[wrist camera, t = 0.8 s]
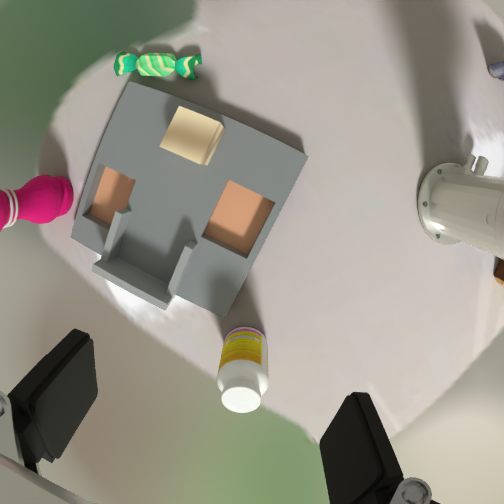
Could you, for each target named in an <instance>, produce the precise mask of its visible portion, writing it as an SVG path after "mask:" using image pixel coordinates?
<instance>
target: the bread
mask: <svg viewBox="0 0 504 504" xmlns="http://www.w3.org/2000/svg"><path fill="white" fill-rule="evenodd" d="M494 277H495V279H496V281H497V282H498V283H500V284H501V285H502V286H504V260H503V259H500V262H499V264H498V267H497V269H496V272H495V274H494Z"/></svg>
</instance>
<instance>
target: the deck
mask: <svg viewBox="0 0 504 504" xmlns="http://www.w3.org/2000/svg"><path fill="white" fill-rule="evenodd" d="M179 106H181V107H184V108H186V109H189V110H191V111H194V112H197V113H199V114H201V115H204V116H206V117H209V118H211V119H214V120H216V121H218V122H220V123H221V124H222V125H223V127H224V128H225V131H224V133H223V135H222V137H221V139H220V141H219V143H218V145H217V147H216V149H215V151H214V153H213V155H212V157H211V159H210V161H209V164H208V165H202V164H198V163H196V162H193V161H191V160H189V159H187V158H184V157H182V156H180V155H178V154H175V153H173V152H171V151H168V150H166V149H164V148H161V147H159V146H160V144H161V142H162V140H163V138H164V136H165V133H166V131H167V129H168V127H169V125H170V123H171V121H172V119H173V117H174V115H175V113H176V111H177V109H178V107H179ZM308 157H309V156H307V155H306V154H304V153H302V152H300V151H298V150H296V149H294V148H292V147H290V146H288V145H286V144H284V143H282V142H280V141H278V140H276V139H274V138H272V137H270V136H268V135H266V134H264V133H262V132H260V131H257V130H255V129H253V128H251V127H249V126H247V125H244V124H242V123H240V122H238V121H235V120H233V119H231V118H228V117H226V116H224V115H221V114H219V113H217V112H214V111H212V110H209V109H207V108H204V107H202V106H199V105H197V104H194V103H192V102H189V101H186V100H184V99H181V98H178V97H176V96H173V95H170V94H167V93H164V92H161V91H159V90H156V89H153V88H150V87H147V86H143V85H140V84H137V83H134V82H131V81H129V82H128V84H127V86H126V88H125V90H124V92H123V94H122V96H121V98H120V100H119V102H118V105H117V107H116V109H115V111H114V113H113V115H112V118H111V120H110V122H109V124H108V127H107V129H106V131H105V134H104V136H103V139H102V141H101V143H100V146H99V149H98V151H97V154H96V156H95V159H94V162H93V165H92V167H91V170H90V173H89V176H88V179H87V182H86V185H85V188H84V191H83V194H82V198H81V201H80V204H79V208H78V211H77V215H76V218H75V222H74V226H73V230H72V234H71V238H73V239H74V240H76V241H78V242H79V243H81V244H83V245H84V246H86V247H88V248H90V249H91V250H93V251H95V252H97V253H98V254H100V255H102V257H101V260H99V261H97V262H96V263H94V264H93V267H92V271H93V272H95V273H97V274H98V275H100V276H102V277H104V278H105V279H107V280H109V281H111V282H112V283H114V284H116V285H118V286H119V287H121V288H123V289H125V290H127V291H129V292H130V293H132V294H134V295H136V296H138V297H140V298H142V299H144V300H145V301H147V302H149V303H151V304H153V305H155V306H157V307H159V308H161V309H163V310H166V308H167V307H168V305H169V304H170V302H171V301H172V299H173V298H174V296H175V295H178V296H180V297H182V298H184V299H186V300H188V301H190V302H192V303H194V304H196V305H198V306H200V307H202V308H205V309H207V310H209V311H211V312H213V313H215V314H217V315H220V316H222V317H224V318H225V317H226V315H227V313H228V311H229V309H230V307H231V305H232V304H233V302H234V300H235V298H236V296H237V294H238V292H239V290H240V288H241V286H242V284H243V282H244V281H245V279H246V277H247V275H248V273H249V271H250V269H251V267H252V265H253V263H254V261H255V259H256V257H257V256H258V254H259V252H260V250H261V248H262V246H263V244H264V242H265V240H266V238H267V236H268V234H269V232H270V230H271V229H272V227H273V225H274V223H275V221H276V219H277V217H278V215H279V213H280V211H281V209H282V207H283V205H284V203H285V201H286V199H287V198H288V196H289V194H290V192H291V190H292V188H293V186H294V184H295V182H296V180H297V178H298V176H299V174H300V172H301V170H302V168H303V166H304V164H305V162H306V161H307V159H308Z"/></svg>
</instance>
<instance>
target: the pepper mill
mask: <svg viewBox="0 0 504 504" xmlns="http://www.w3.org/2000/svg"><path fill="white" fill-rule="evenodd" d="M72 202H73V190H72V186H71V184H70V183H69V181H68V180H67V179H65V178H64V177H51V176H49V175H41V176H37V177H35V178H33V179H32V180H30V181H29V182H28V183H26V184H25V185H24V186H23V187H22V188H20V189H19V190H12V189H10V188H8V187H7V188H0V231H1V230H2V228H6V227H9V226H12V225H13V224H14V223H15V221H16V220H18V219H25V220H28V221H31V222H33V223H38V224H42V223H49V222H51V221H52V220H54V219H55V218H56V217H58V216H61V215H64V214H66V213H67V212H68V211H69V209H70V208H71V206H72Z"/></svg>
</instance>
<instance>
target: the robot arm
mask: <svg viewBox="0 0 504 504" xmlns="http://www.w3.org/2000/svg"><path fill="white" fill-rule="evenodd" d="M475 159H476V157H475V156H474V155H472V154H468V156H467V159H466V163H465V166H461V165H458V164H456V163H442V164H439V165H437V166H435V167H434V168H432V169H431V170H430V171H429V172H428V174H427V175H426V176H425V178H424V180H423V182H422V184H421V187H420V191H419V197H418V211H419V217H420V220H421V223H422V226H423V228H424V229H425V231H426V232H427V234H428V235H429V236H430V237H431V238H432V239H434V240H435V241H437V242H439V243H442V244H446V245H452V244H456V243H458V242H461V241H463V242H465V243H468V244H470V245H472V246H474V247H477V248H479V249H481V250H483V251H486V252H488V253H490V254H492V255H494V256H497V257H499V258H501V259H503V260H504V178H501V177H492V176H483V175H484V172H485V171H486V168H487V165H488V160H487V159H486V158H485V157H483V156H479V157H478V160H477V163H476V167H475V170H474V172H472V170H471V169H472V166H473V164H474V162H475ZM97 394H98V388H97V380H96V370H95V359H94V346H93V340H92V339H90V336H89V334H88V333H85V332H82V331H80V330H77V329H73V330H72V331H71V332H70V333H69V334H68V335H67V336H66V337H65V338H64V339H63V340H62V341H61V342H60V343H59V344H57V346H55V348H53V349H52V351H50V352H49V353H48V354H47V355H46V356H44V357H43V358H42V359H41V360H40V361H39V362H38V363H37V365H36V366H35V367H34V368H33V369H32V370H31V371H30V372H29V373H28V374H27V375H26V376H25V377H24V378H23V379H22V380H21V381H20V382H19V383H18V384H17V386H16V387H15V388H14V389H13V390H12V391H11V392H10V393H9V394H8V395H6V394H4V393H3V392H1V391H0V504H97V503H94V502H92V501H89V500H87V499H85V498H83V497H80V496H79V495H76V494H74V493H72V492H70V491H68V490H66V489H64V488H62V487H60V486H58V485H56V484H54V483H52V482H50V481H49V480H47V479H45V478H43V477H42V475H41V472H40V468H39V464H38V463H39V461H40V460H41V458H44V459H46V460H47V461H49V462H51V463H52V462H53V461H54V459H55V458H57V459H58V458H60V457H61V455H62V453H63V452H64V450H65V448H66V446H67V445H68V443H69V441H70V440H71V438H72V436H73V435H74V433H75V431H76V430H77V428H78V427H79V425H80V423H81V421H82V420H83V418H84V417H85V415H86V414H87V412H88V410H89V408H90V407H91V405H92V404H93V402H94V401H95V399H96V397H97ZM320 451H321V457H322V462H323V467H324V473H325V478H326V484H327V489H328V495H329V500H330V504H440V503H437V502H435V501H433V500H431V496H432V493H431V489H430V487H429V485H428V484H427V483H426V482H425V481H423V480H421V479H418V478H412V477H410V478H407V479H405V480H404V478H403V473H402V471H401V468H400V465H399V463H398V461H397V458H396V456H395V453H394V451H393V448H392V446H391V444H390V441H389V439H388V436H387V434H386V432H385V429H384V427H383V425H382V422H381V420H380V418H379V415H378V413H377V411H376V409H375V406H374V404H373V402H372V400H371V397H370V395H369V394H368V393H363V392H353V393H351V395H348V396H347V397H346V398H345V400H344V402H343V403H342V405H341V407H340V409H339V410H338V412H337V414H336V415H335V417H334V419H333V420H332V422H331V424H330V425H329V427H328V428H327V430H326V432H325V433H324V435H323V436H322V438H321V440H320Z"/></svg>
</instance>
